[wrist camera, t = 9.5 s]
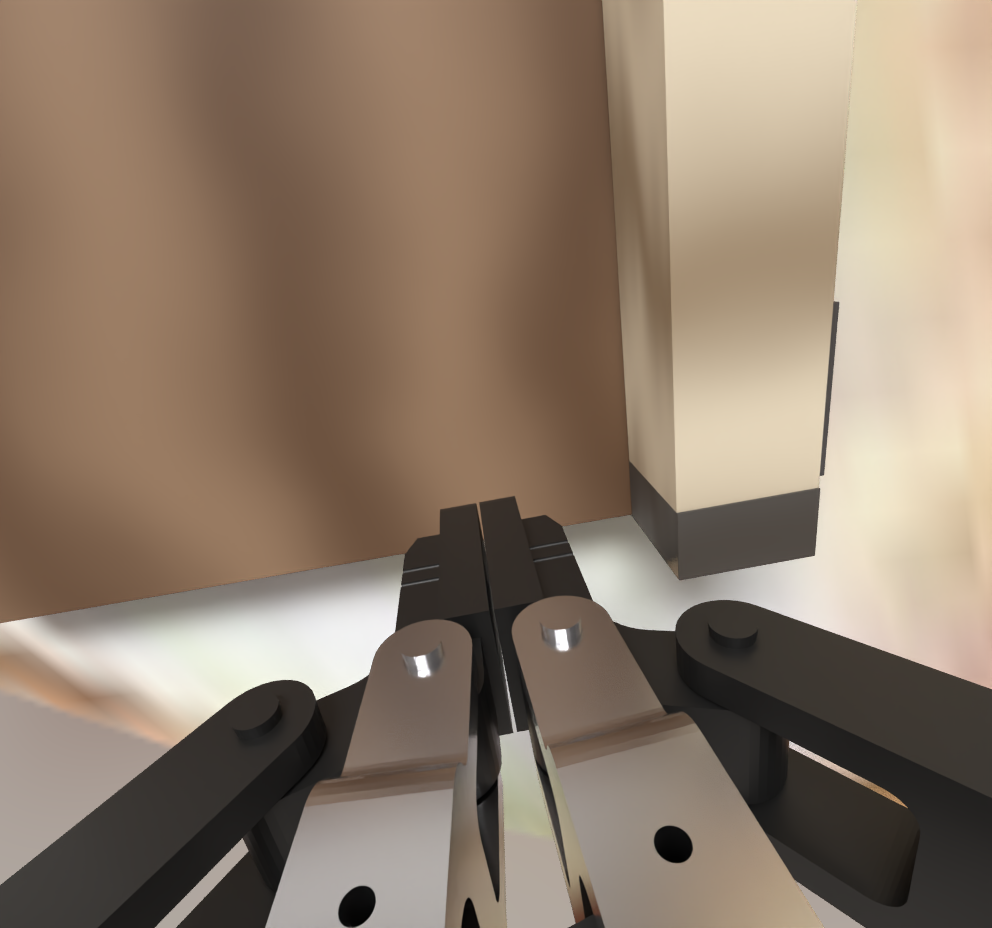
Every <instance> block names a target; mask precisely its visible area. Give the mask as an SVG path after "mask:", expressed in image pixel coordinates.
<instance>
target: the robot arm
mask: <svg viewBox="0 0 992 928" xmlns="http://www.w3.org/2000/svg"><path fill="white" fill-rule="evenodd" d="M479 505H480V512H481V520H482V527H483V535H484V540H483V535H482V530H481V525H480V519H479V514H478V509H477V505H476V503H473V504H467V505H462V506H456V507H451V508H445V509H440V534H438V535H433V536H427V537H422V538H417V540H416V541H415V542H414V543H413V545H412V546H411V547H410V548H409V550H408V551H407V552H406V554H405V559H404V567H403V575H402V583H401V585H402V587H401V590H400V598H399V606H398V614H397V622H396V630H395V633H394V634H392V635H391V636H390V637H388V638H387V639H386V640H385V641H384V642H383V643H382V644H381V646H380V647H379V648H378V650H377V652H376V654H375V656H374V659H373V662H372V666H371V670H370V673H369V675H368V676H367V677H365V678H364V679H362V680H360V681H359V682H357V683H355V684H353V685H351V686H349V687H347V688H344V689H342V690H340V691H337V692H335V693H333V694H330V695H328V696H326V697H323V698H321V699H319V700H317V701H316V699H315V696H314V694H313V691H312V690H311V689H310V688H309V687H308V686H307V685H305V684H304V683H301V682H298V681H293V680H280V681H273V682H269V683H265V684H262V685H260V686H257V687H255V688H252V689H250V690H248V691H246V692H244V693H243V694H241V695H239V696H238V697H236V698H235V699H233V700H232V701H231V702H229V703H228V704H227V705H225V706H224V707H223V708H222V709H220V710H219V711H218V712H217V713H215V714H214V715H213V716H212V717H210V718H209V719H208V720H207V721H205V722H204V723H203V724H202V725H200V726H199V727H198V728H197V729H195V730H194V731H193V732H192V733H190V734H189V735H188V736H187V737H185V738H184V739H183V740H182V741H180V742H179V743H178V744H177V745H175V746H174V747H173V748H172V749H170V750H169V751H168V752H167V753H165V754H164V755H163V756H162V757H160V758H159V759H158V760H157V761H155V762H154V763H153V764H152V765H150V766H149V767H148V768H147V769H145V770H144V771H143V772H142V773H140V774H139V775H138V776H137V777H135V778H134V779H133V780H131V781H130V782H129V783H128V784H127V785H125V786H124V787H123V788H122V789H120V790H119V791H118V792H117V793H115V794H114V795H113V796H112V797H110V798H109V799H108V800H106V801H105V802H104V803H103V804H102V805H100V806H99V807H98V808H96V809H95V810H94V811H93V812H91V813H90V814H89V815H88V816H86V817H85V818H84V819H83V820H81V821H80V822H79V823H78V824H76V825H75V826H74V827H73V828H71V829H70V830H69V831H68V832H66V833H65V834H64V835H63V836H61V837H60V838H59V839H58V840H56V841H55V842H54V843H53V844H51V845H50V846H49V847H48V848H46V849H45V850H44V851H43V852H41V853H40V854H39V855H38V856H36V857H35V858H34V859H33V860H31V861H30V862H29V863H28V864H26V865H25V866H24V867H22V868H21V869H20V870H19V871H17V872H16V873H15V874H14V875H12V876H11V877H10V878H9V879H7V880H6V881H5V882H4V883H3V884H1V885H0V928H155V927H156V926H157V925H158V923H159V922H160V921H161V920H162V919H163V918H164V917H165V916H166V915H167V914H168V913H169V912H170V911H171V910H172V909H173V908H174V907H175V906H176V905H177V904H178V903H179V902H180V901H181V900H182V899H183V898H184V897H185V896H186V895H187V894H188V893H189V892H190V891H191V890H192V889H193V888H194V887H195V886H196V885H197V884H198V883H199V881H201V880H202V879H203V877H204V876H206V875H207V874H208V872H209V871H210V870H211V869H212V868H213V867H214V866H215V865H216V864H217V863H218V862H219V861H220V860H221V859H222V858H223V857H224V856H225V855H226V854H227V853H228V852H229V851H230V850H231V849H232V848H233V847H234V846H235V845H236V844H237V843H238V842H239V841H240V840H241V839H242V838H243V840H244V842H245V844H246V846H247V848H248V850H249V852H248V853H247V854H246V855H245V856H244V857H243V858H242V859H241V860H240V861H239V862H238V863H237V864H236V865H235V866H234V867H233V868H232V870H231V871H230V872H229V873H228V874H227V875H226V876H225V877H224V878H223V879H222V880H221V881H220V882H219V883H218V884H217V885H216V886H215V887H214V889H213V890H212V891H211V892H210V893H209V894H208V895H207V896H206V897H205V898H204V899H203V900H202V901H201V902H200V903H199V904H198V905H197V906H196V907H195V908H194V909H193V911H192V912H191V913H190V914H189V915H188V916H187V917H186V918H185V919H184V920H183V921H182V922H181V923H180V924H179V925H178V926H177V927H176V928H507V919H506V891H505V890H506V889H505V851H504V850H505V849H504V811H503V783H502V777H501V772H500V769H501V748H500V739H499V736H500V735H505V734H510V733H513V729H512V722H511V715H510V707H509V700H508V693H507V686H506V679H505V672H504V666H505V671H506V676H507V681H508V686H509V691H510V697H511V702H512V707H513V712H514V717H515V723H516V728H517V732H519V731H525V730H529V732H530V737H531V743H532V748H533V753H534V759H535V764H536V770H537V775H538V780H539V784H540V788H541V792H542V795H543V799H544V803H545V807H546V811H547V814H548V818H549V822H550V826H551V830H552V833H553V837H554V841H555V845H556V849H557V852H558V856H559V860H560V863H561V867H562V871H563V875H564V879H565V882H566V886H567V890H568V894H569V898H570V902H571V905H572V910H573V914H574V918H575V922H576V924H574V925H572V926H571V927H569V928H824V926H823V925H822V923H821V921H820V920H819V918H818V917H817V915H816V913H815V912H814V910H813V909H812V907H811V905H810V904H809V902H808V901H807V899H806V898H805V896H804V895H803V893H802V891H801V890H800V888H799V886H798V885H797V883H796V882H795V880H796V881H797V882H799V883H800V884H802V885H803V886H805V887H806V888H808V889H809V890H810V891H812V892H813V893H815V894H817V895H818V896H819V897H821V898H822V899H824V900H825V901H827V902H828V903H830V904H831V905H833V906H834V907H836V908H837V909H839V910H840V911H842V912H843V913H845V914H846V915H848V916H849V917H851V918H852V919H853V920H855V921H856V922H858V923H860V924H861V925H862V926H864V927H865V928H992V689H989V688H986V687H983V686H981V685H978V684H975V683H972V682H969V681H967V680H964V679H961V678H958V677H955V676H953V675H950V674H947V673H944V672H941V671H939V670H936V669H933V668H930V667H927V666H925V665H922V664H919V663H916V662H913V661H910V660H908V659H905V658H902V657H899V656H896V655H894V654H891V653H888V652H885V651H882V650H880V649H877V648H874V647H871V646H868V645H866V644H863V643H860V642H857V641H854V640H852V639H849V638H846V637H843V636H840V635H838V634H835V633H832V632H829V631H826V630H824V629H821V628H818V627H815V626H812V625H809V624H807V623H804V622H801V621H798V620H795V619H793V618H790V617H787V616H784V615H781V614H779V613H776V612H773V611H770V610H767V609H765V608H762V607H759V606H756V605H753V604H749V603H745V602H740V601H732V600H717V601H709V602H704V603H701V604H698V605H695V606H693V607H691V608H690V609H688V610H687V611H685V612H684V613H683V614H682V615H681V616H680V618H679V619H678V621H677V624H676V629H675V631H656V630H642V629H635V628H630V627H627V626H623V625H620V624H618V623H616V622H613V621H612V619H611V617H610V616H609V614H608V613H607V611H606V610H605V609H604V608H603V607H602V606H600V605H599V604H597V603H596V602H594V601H593V600H592V598H591V595H590V593H589V590H588V588H587V586H586V583H585V581H584V579H583V576H582V574H581V571H580V569H579V567H578V564H577V562H576V559H575V557H574V555H573V552H572V550H571V547H570V545H569V543H568V541H567V538H566V536H565V533H564V531H563V528H562V526H561V525H560V524H558V523H557V522H556V521H554V520H553V519H551V518H550V517H548V516H547V515H542V516H536V517H531V518H525V519H521V516H520V512H519V509H518V505H517V502H516V498H515V496H511V497H505V498H500V499H494V500H489V501H483V502H479ZM484 542H485V546H484ZM485 549H486V551H485ZM501 650H502V651H501ZM502 655H503V658H502ZM503 660H504V665H503ZM789 741H791V742H793V743H795V744H797V745H799V746H801V747H803V748H805V749H807V750H809V751H811V752H813V753H815V754H817V755H819V756H821V757H823V758H825V759H827V760H828V761H830V762H832V763H834V764H836V765H838V766H840V767H842V768H844V769H846V770H848V771H850V772H852V773H854V774H856V775H858V776H860V777H862V778H864V779H866V780H868V781H870V782H872V783H874V784H876V785H878V786H880V787H882V788H883V789H885V790H887V791H888V792H890V793H891V794H893V795H894V796H896V797H897V798H898V799H899V800H900V801H902V802H903V803H904V804H905V805H906V806H907V807H908V808H906V807H904V806H902V805H900V804H898V803H896V802H894V801H892V800H890V799H888V798H886V797H884V796H882V795H880V794H878V793H876V792H874V791H873V790H871V789H869V788H867V787H865V786H863V785H861V784H859V783H857V782H855V781H853V780H851V779H849V778H847V777H845V776H843V775H842V774H840V773H838V772H836V771H834V770H832V769H830V768H828V767H826V766H824V765H822V764H820V763H818V762H816V761H814V760H812V759H811V758H809V757H807V756H805V755H803V754H801V753H799V752H797V751H795V750H793V749H791V748H789Z"/></svg>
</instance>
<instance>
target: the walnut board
mask: <svg viewBox="0 0 992 928" xmlns="http://www.w3.org/2000/svg"><path fill="white" fill-rule="evenodd" d="M838 311H839V302H835V301H833V314H832V326H831V339H830V351H829V364H828V377H827V389H826V402H825V414H824V427H823V439H822V452H821V464H820V476H822V475H824V469H825V458H826V446H827V435H828V424H829V412H830V401H831V390H832V378H833V367H834V356H835V345H836V333H837V322H838ZM511 496H515V498H516V502H517V505H518V509H519V512H520V516H521V519H525V518H531V517H536V516H542V515H547V516H548V517H550V518H551V519H553V520H554V521H556V522H557V523H558V524H560V525H561V526H567V525H573V524H579V523H585V522H591V521H596V520H602V519H608V518H614V517H620V516H625V515H631V514H632V506H631V490H630V473H629V446H628V429H627V412H626V395H625V378H624V361H623V344H622V328H621V311H620V294H619V277H618V260H617V243H616V226H615V209H614V192H613V175H612V158H611V141H610V125H609V108H608V91H607V74H606V57H605V40H604V23H603V6H602V0H0V623H4V622H10V621H15V620H21V619H27V618H33V617H39V616H44V615H50V614H56V613H62V612H68V611H73V610H79V609H85V608H91V607H97V606H103V605H108V604H114V603H120V602H126V601H132V600H137V599H143V598H149V597H155V596H161V595H166V594H172V593H178V592H184V591H190V590H195V589H201V588H207V587H213V586H219V585H225V584H230V583H236V582H242V581H248V580H254V579H259V578H265V577H271V576H277V575H283V574H288V573H294V572H300V571H306V570H312V569H317V568H323V567H329V566H335V565H341V564H347V563H352V562H358V561H364V560H370V559H376V558H381V557H387V556H393V555H399V554H405V553H406V552H407V551H408V550H409V548H410V547H411V546H412V545H413V543H414V542H415V541H416V540H417V538H422V537H427V536H433V535H438V534H440V509H445V508H451V507H456V506H462V505H467V504H473V503H476V505H477V509H478V514H479V519H480V525H481V530H482V535H483V527H482V520H481V512H480V505H479V502H483V501H489V500H494V499H500V498H505V497H511ZM483 540H484V535H483Z"/></svg>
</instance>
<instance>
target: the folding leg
mask: <svg viewBox="0 0 992 928" xmlns="http://www.w3.org/2000/svg"><path fill="white" fill-rule="evenodd" d="M602 6H603V23H604V40H605V57H606V74H607V91H608V108H609V125H610V141H611V158H612V175H613V192H614V209H615V226H616V243H617V260H618V277H619V294H620V311H621V328H622V344H623V361H624V378H625V395H626V412H627V429H628V446H629V473H630V490H631V506H632V516H633V518H634V519H635V520H636V522H637V523H638V524H639V526H640V527H641V529H642V530H643V531H644V533H645V534H646V535H647V537H648V538H649V539H650V541H651V542H652V544H653V545H654V546H655V548H656V549H657V550H658V552H659V553H660V555H661V556H662V557H663V559H664V560H665V561H666V563H667V564H668V566H669V567H670V568H671V570H672V571H673V572H674V574H675V575H676V576H677V578H678V579H679V580H684V579H689V578H695V577H700V576H706V575H711V574H717V573H722V572H728V571H733V570H739V569H744V568H750V567H755V566H761V565H766V564H772V563H777V562H783V561H788V560H794V559H799V558H805V557H810V556H815V547H816V535H817V522H818V510H819V497H820V488H819V477H820V464H821V452H822V439H823V427H824V414H825V402H826V389H827V377H828V364H829V351H830V339H831V326H832V314H833V301H834V289H835V276H836V264H837V251H838V238H839V226H840V213H841V201H842V188H843V176H844V163H845V150H846V138H847V125H848V113H849V100H850V88H851V75H852V63H853V50H854V37H855V25H856V12H857V0H602Z"/></svg>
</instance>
